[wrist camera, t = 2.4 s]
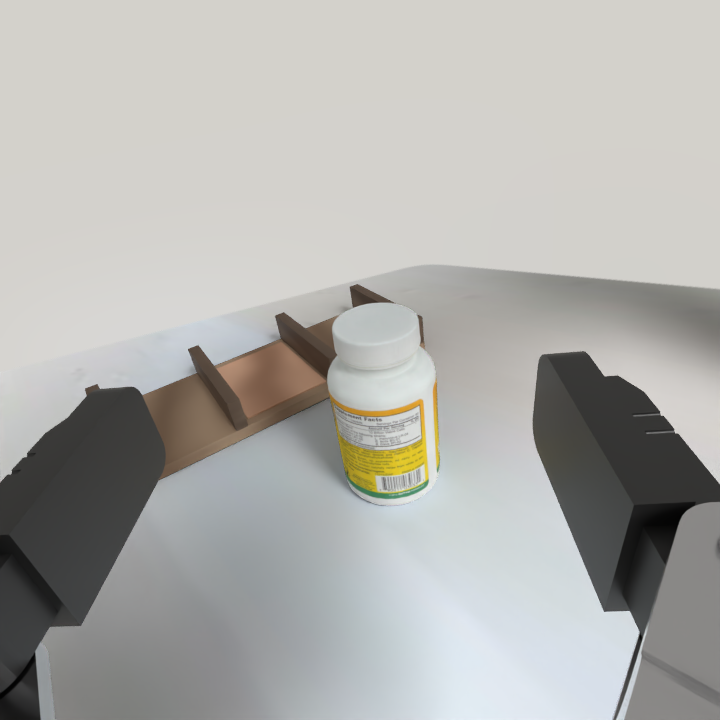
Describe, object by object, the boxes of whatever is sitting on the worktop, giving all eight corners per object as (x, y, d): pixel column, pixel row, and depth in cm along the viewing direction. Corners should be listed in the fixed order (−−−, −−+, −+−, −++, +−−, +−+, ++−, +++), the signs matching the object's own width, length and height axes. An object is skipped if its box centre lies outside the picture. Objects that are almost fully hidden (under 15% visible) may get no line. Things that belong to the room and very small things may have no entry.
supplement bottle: (405, 526, 23) (387, 366, 18) (326, 482, 26) (291, 335, 21) (458, 458, 26) (455, 307, 21) (382, 427, 30) (364, 288, 24)
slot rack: (362, 313, 43) (357, 283, 42) (425, 350, 36) (422, 316, 35) (102, 422, 34) (84, 388, 32) (122, 497, 27) (101, 461, 26)
